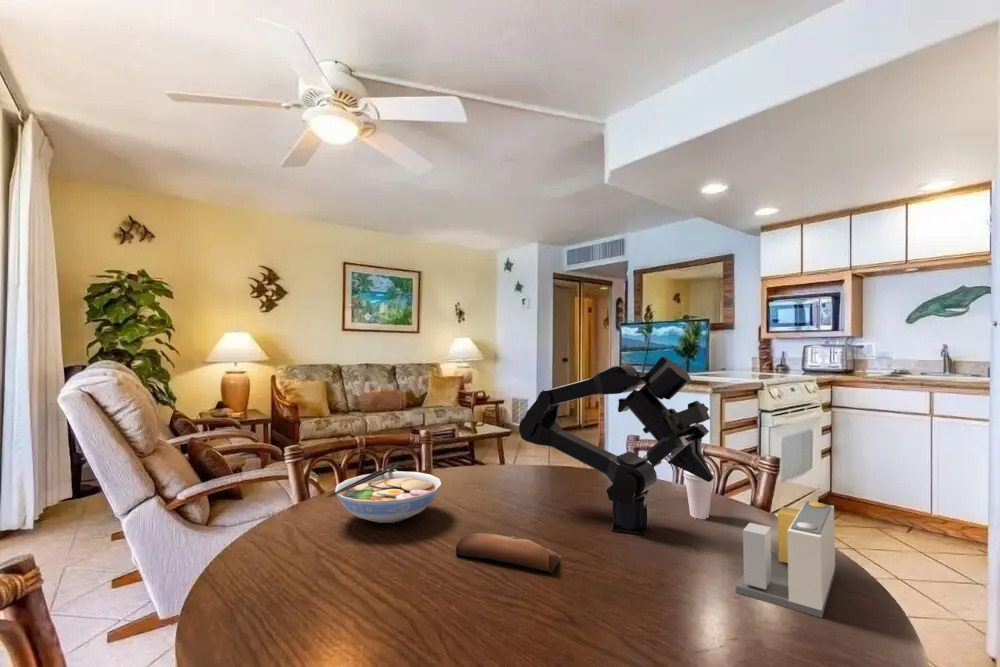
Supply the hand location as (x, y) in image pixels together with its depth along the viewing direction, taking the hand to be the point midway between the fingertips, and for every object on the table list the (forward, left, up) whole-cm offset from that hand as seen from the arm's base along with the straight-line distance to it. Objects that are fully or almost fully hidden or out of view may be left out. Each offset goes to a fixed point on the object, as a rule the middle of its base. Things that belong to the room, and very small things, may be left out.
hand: (711, 480), depth 91 cm
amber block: (+12, -4, -11) cm, 17 cm away
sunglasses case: (-34, -15, -13) cm, 40 cm away
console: (+11, -10, -13) cm, 19 cm away
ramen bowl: (-65, -5, -13) cm, 67 cm away
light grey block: (+5, -15, -11) cm, 19 cm away
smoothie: (-1, +18, -13) cm, 22 cm away
